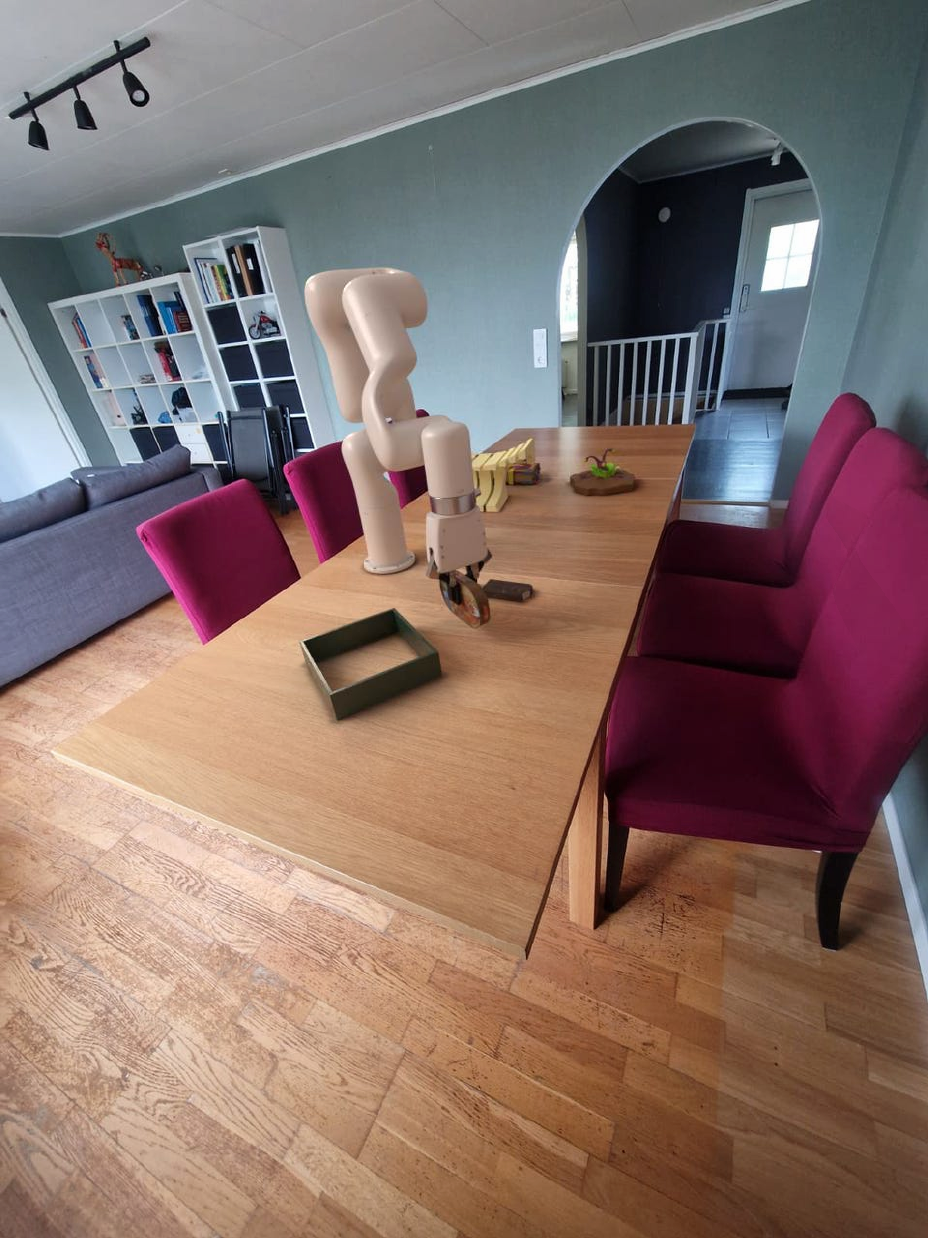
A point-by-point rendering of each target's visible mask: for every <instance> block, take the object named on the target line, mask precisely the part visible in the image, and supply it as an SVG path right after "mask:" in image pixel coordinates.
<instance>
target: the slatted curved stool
mask: <svg viewBox="0 0 928 1238" xmlns="http://www.w3.org/2000/svg"><path fill="white" fill-rule="evenodd" d="M471 457H472V468H473V480H474V488H475V489H477V488H479V489H480V490H481V496H478V497H477V498H476V504H477V505H478V506H479V508H480V511H481V513H482V512H484V511H485V512H487V513H491V512H492V513H493V512H495V513H496V512H498V513H499V512H500V510H501V509H502V507H503V506H504V504H505V503H506V502H507V500H508V497H509V496H508V490H507V485H506V483H505V480H506V474H507V471H508V468H509V467H510V466H512V465H514V464H515V463H517V464H523V463H525V462H526V463H527V464H531V465H533V464H534V463H536V443H535V439H534V438H533V437H532V438H529V439H527V440H526V442H523V443H520V444H518V446H513V447H512V448H509V449H508V450H503V451H497V452H494V453H493V452H491V453H490V452H489V453H477V452H471Z"/></svg>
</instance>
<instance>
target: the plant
mask: <svg viewBox="0 0 928 1238" xmlns="http://www.w3.org/2000/svg"><path fill="white" fill-rule="evenodd" d="M608 452H609V453H610V454H611V455H614V454H616V449H614V448H607V449H606V450H605V451H604V453H603V455H602V458H601V460H600V459H599V458H598V457H597V456H594V455H589V456H585V458H584V459H583V461H584V463H588V462H589V459H591V458H592V459H594V461H595V462H596V464H593V463H590V464H589V466H590V468H589V469H588V470H585V471H582V472H578V473H573V474H572V475H570V476H569V484H570V485H571V486H572V487H573V488H574V492H575V493H578V494H579V495H584V496H594V495H595V496H608V495H615V494H620V493H621V494H622V493H628V492H632V491H633V489H634V488H635V487H636V485H637V477H636V475H635V474H634V473H631V472H629V471H627V470H625V469H620V468H621V467H622V466H621V465H619V466H616V467H615V463H612V462H610V461H609V462H607V461H606V458H607V454H608Z"/></svg>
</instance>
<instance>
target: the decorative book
mask: <svg viewBox="0 0 928 1238" xmlns="http://www.w3.org/2000/svg"><path fill="white" fill-rule="evenodd" d="M541 470H542V468H541V463H540V462H534V464H533V465H531V464H527V463H526V462H524V463H523V464H517V462H516V463H515V464H514V465H512V466H510V467H509V468H508V471H507V474H506V480H505V484H508V485H515V484H522V485H534V484H536V485H538V484H539V482H538V481H536V480H537V479H538V478H540V475H541Z"/></svg>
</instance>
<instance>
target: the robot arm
mask: <svg viewBox="0 0 928 1238" xmlns="http://www.w3.org/2000/svg"><path fill="white" fill-rule="evenodd" d="M426 294H427V293H426V291H425V289H424V286H423V285H422V283H421V281H420V280H419V279H418V278H417V276H415V275H414V274H413V273H411V272H409V271H407V270H406V271H405V270H401V269H397V268H393V267H388V266H387V267H386V266H385V267H384V266H383V267H381V266H380V267H366V268H365V267H364V268H346V269H345V268H343V269H333V270H326V271H322V272H321V271H320V272H318V273H315V274H314V275H312V276H310V277H309V278H308V279H307V280H306V281H305V285H304V303H305V307H306V311H307V315H308V317H309V320H310V323H311V325H312V327H313V329H314V332H315V334H316V335H317V337H318V339H319V341H320V343H321V345H322V346H323V347H322V348H323V349H324V351H325V354H326V357H327V361H328V366H329V370H330V375H331V379H332V383H333V387H334V393H335V396H336V401H337V404H338V407H339V411H340V413H341V416H342V418H343V419H344V420H345V421H346V422H348V423H350V424H361V423H362V424H363V426H364V428H363V429H359V430H355V431H353V432H351V433H349V434H347V435H346V436H345V438H344V439H343V441H342V443H341V454H342V457H343V460H344V463H345V465H346V468H347V471H348V473H349V476H350V479H351V482H352V483H351V484H352V486H353V490H354V495H355V498H356V499H355V500H356V504H357V508H358V512H359V517H360V521H361V527H362V532H363V537H364V540H365V541H364V542H365V546H366V550H367V555H368V556H367V557H366V558H365V559H364V561H363V567H364V569H365V570H366V571H367V572H369V573H372V574H375V575H376V574H378V575H385V574H394V573H398V572H401V571H403V570H407V568H410V567H412V566H413V564H414V563H415V561H416V556H415V553H414V552H413V551H411V550H410V549H408V546H407V540H406V533H405V527H404V522H403V516H402V515H403V514H402V509H401V503H400V497H399V493H398V489H397V487H396V486H395V484H394V483H393V482H391V481H390V480H389V479H388V478H387V477H385V475H384V474H385V473H387V472H401V471H408V470H410V469H415V468H418V467H422V466H424V471H425V476H426V484H427V491H428V499H429V505H430V511H429V512H427V513H426V518H425V545H426V547H425V549H426V557H427V562H428V566H427V569H426V573H425V576H426V577H427V578H429V579H430V580H436V581H439V580H441V581H443V582H445V583H446V584H447V592H448V598H449V599H450V600H451V601H452V602H454V603H455V604H456V605H458V606H459V605H461V595H460V587H459V585H458V584H456V570H460V569H462V568H464V567H465V572H466V573H465V574H464V575H466V576H467V577H469V578H470V579H472V580H473V581H475V582H477V583H478V579H479V578H480V573H481V571H482V570H483V568H484V567H485V564H487V563H488V562H489V561H490V560H491V559H492V558H493V554H492V552H491V551H490V549H489V547H488V537H487V533H486V526H485V523H484V522H485V521H484V519H483V515H482V512H481V511H480V508H479V506H478V505H477V504H476V498H477V497H478V496H481V490H480V489H479V488H477V489H475V488H474V480H473V468H472V457H471V453H472V448H471V437H470V436H471V435H470V430H469V428H468V426H467V425H466V424H465V423H463V422H461V421H454V420H452V419H451V418H450V417H448V416H446V415H443V414H433V415H427V416H423V417H417V411H416V403H415V398H414V394H413V390H412V386H411V384H410V381H409V379H408V377H409V376H410V375H411V373H413V371H414V370H415V368H416V367H417V366H416V365H417V362H418V356H417V352H416V350H415V347H414V344H413V342H412V340H411V338H410V336H409V332H407V331H408V330H407V329H412V328H413V329H414V328H418V327H421V326H422V325H423V324H424V323H425V321H426V320H427V316H428V311H429V310H428V308H429V303H428V298H427V295H426ZM387 419H391V422H392V423H389V422H388V420H387Z"/></svg>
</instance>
